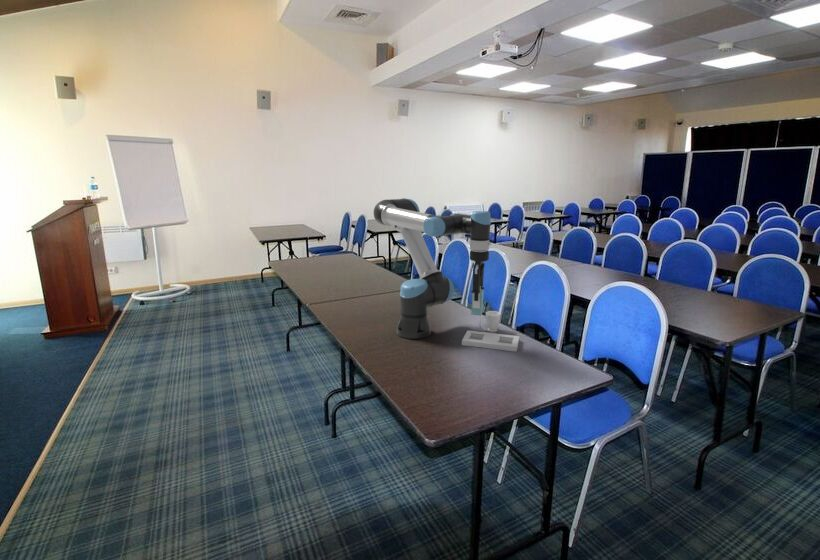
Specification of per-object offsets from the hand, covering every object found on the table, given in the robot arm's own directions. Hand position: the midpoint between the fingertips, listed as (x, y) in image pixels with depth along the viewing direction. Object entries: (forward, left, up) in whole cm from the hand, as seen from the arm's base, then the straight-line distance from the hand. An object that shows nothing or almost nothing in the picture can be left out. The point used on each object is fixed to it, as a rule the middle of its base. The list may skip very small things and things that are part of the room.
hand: (477, 306), depth 172 cm
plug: (0, 0, -3) cm, 3 cm away
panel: (+6, 0, -15) cm, 16 cm away
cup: (+4, +14, -16) cm, 21 cm away
